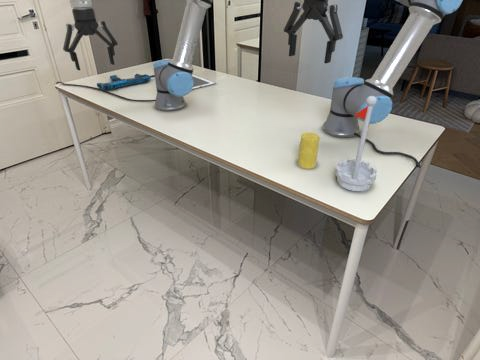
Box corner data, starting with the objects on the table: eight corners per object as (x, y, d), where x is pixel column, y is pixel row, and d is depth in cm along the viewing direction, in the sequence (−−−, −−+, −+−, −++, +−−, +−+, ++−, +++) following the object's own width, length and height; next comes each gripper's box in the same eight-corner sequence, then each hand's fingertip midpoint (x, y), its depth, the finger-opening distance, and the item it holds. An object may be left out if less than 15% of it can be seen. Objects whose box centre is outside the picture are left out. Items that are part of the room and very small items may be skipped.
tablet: (159, 78, 216) (159, 77, 215) (186, 72, 227) (186, 71, 226) (187, 90, 195) (187, 90, 195) (215, 83, 206) (215, 82, 206)
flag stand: (357, 168, 122) (375, 86, 106) (382, 188, 112) (406, 100, 96) (326, 176, 118) (340, 91, 102) (349, 196, 108) (368, 106, 92)
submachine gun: (141, 68, 225) (159, 74, 208) (142, 74, 227) (160, 80, 210) (89, 78, 206) (104, 86, 190) (91, 84, 208) (106, 92, 192)
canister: (316, 161, 127) (319, 133, 121) (315, 169, 122) (319, 141, 116) (298, 159, 129) (301, 131, 122) (297, 167, 123) (300, 139, 117)
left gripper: (48, 11, 116) (65, 74, 128) (119, 6, 129) (129, 63, 140) (43, 9, 121) (60, 69, 133) (112, 4, 134) (122, 60, 145)
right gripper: (276, -17, 105) (272, 54, 116) (350, -13, 91) (337, 68, 103) (290, -18, 110) (284, 51, 121) (363, -14, 96) (349, 63, 107)
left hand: (95, 66), depth 137 cm, fingers open, 13 cm apart
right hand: (309, 59), depth 112 cm, fingers open, 13 cm apart
